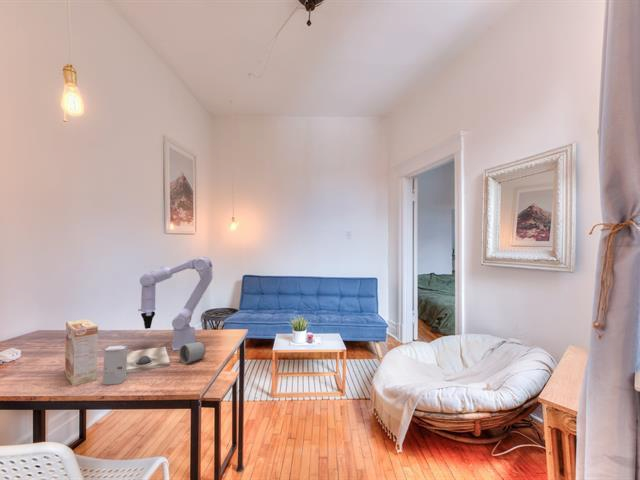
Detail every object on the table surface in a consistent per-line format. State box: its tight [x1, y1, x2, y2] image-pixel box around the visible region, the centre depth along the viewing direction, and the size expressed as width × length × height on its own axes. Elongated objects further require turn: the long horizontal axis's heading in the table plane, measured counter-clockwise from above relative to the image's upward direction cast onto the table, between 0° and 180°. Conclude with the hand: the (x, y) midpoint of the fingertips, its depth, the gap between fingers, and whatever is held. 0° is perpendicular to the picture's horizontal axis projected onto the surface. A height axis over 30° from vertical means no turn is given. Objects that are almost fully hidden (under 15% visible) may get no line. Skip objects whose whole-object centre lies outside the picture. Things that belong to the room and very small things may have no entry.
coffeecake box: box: [64, 318, 99, 387], centre depth 110 cm, size 15×7×20 cm, turn 48°
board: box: [126, 346, 171, 375], centre depth 126 cm, size 18×22×2 cm
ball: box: [139, 356, 150, 365], centre depth 121 cm, size 4×4×4 cm
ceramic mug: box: [179, 341, 207, 365], centre depth 128 cm, size 11×8×8 cm
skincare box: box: [102, 345, 129, 386], centre depth 107 cm, size 6×4×12 cm
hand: (147, 328), depth 141 cm, fingers closed
